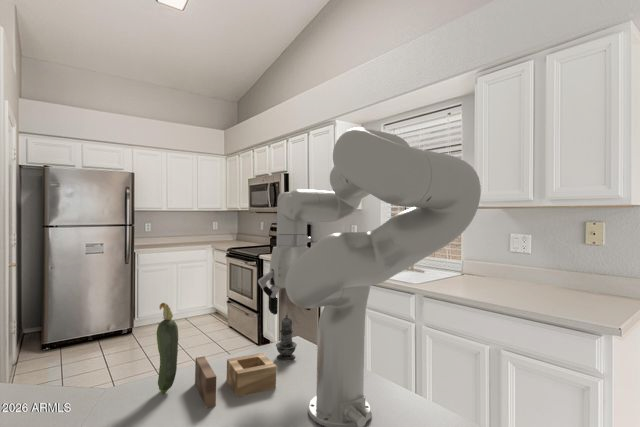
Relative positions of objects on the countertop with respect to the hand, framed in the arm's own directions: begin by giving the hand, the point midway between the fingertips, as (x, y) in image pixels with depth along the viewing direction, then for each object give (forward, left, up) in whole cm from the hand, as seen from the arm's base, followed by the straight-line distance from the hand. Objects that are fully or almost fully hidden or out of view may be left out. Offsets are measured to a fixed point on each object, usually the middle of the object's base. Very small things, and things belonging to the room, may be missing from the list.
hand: (290, 310), depth 89 cm
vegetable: (+4, +28, -16) cm, 33 cm away
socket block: (0, +10, -16) cm, 19 cm away
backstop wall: (0, +20, -16) cm, 26 cm away
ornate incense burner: (+11, -4, -16) cm, 20 cm away
